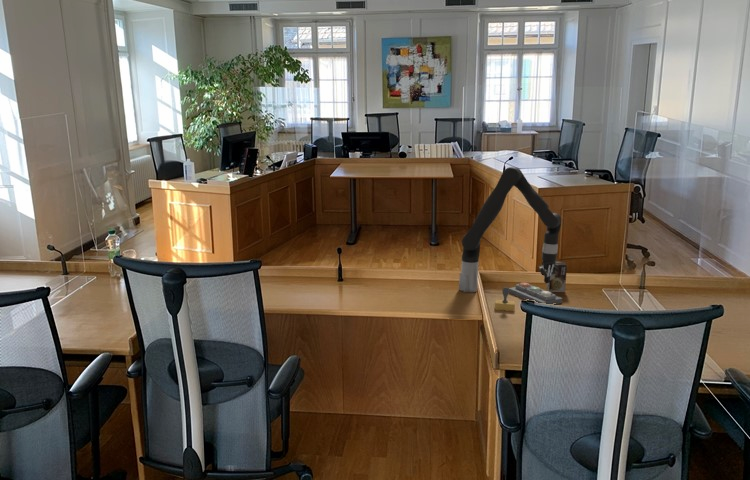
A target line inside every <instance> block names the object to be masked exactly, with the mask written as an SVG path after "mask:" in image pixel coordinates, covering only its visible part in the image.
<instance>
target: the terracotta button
mask: <svg viewBox="0 0 750 480" xmlns="http://www.w3.org/2000/svg"><path fill="white" fill-rule="evenodd" d="M519 284H520V286H521V287H524V288H526V287H529V286H530V285H531V284H530V283H528V282H520V283H519Z"/></svg>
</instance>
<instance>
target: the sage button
mask: <svg viewBox="0 0 750 480" xmlns="http://www.w3.org/2000/svg"><path fill="white" fill-rule="evenodd" d="M540 289H541V288H540V287H538V286H534V287H531V291H534V292H538V291H540Z"/></svg>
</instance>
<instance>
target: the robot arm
mask: <svg viewBox="0 0 750 480" xmlns="http://www.w3.org/2000/svg"><path fill="white" fill-rule="evenodd" d="M513 187H515V188H517V189H518V191H519V192H520V193H521V194H522V196H523V197H524V199H525V200H526V202H527V203H528V205H529V206H530V207H531V208H532V209H533V211H534V212H535V213H537V215H538V217H539V218H540V220H541V222H542V224H544V226H546V230H545V233H544V238H543V244H542V252H541V253H542V254H541V260H542V262H541V266H538V267H537V268H538V271H539V273H540V274H541V275H542V276H544V277H543V278H544V279H543V281H544V284H547V283H549V282H550V276H551V275H553V274H554V273H555V271H556V270H557V268H558V265H556V264H555V263H556V262H557V259H558V250H559V234H560V231H561V227H562V216H561V215H560V214H559V213H557V212H552V211H551V209H550V206H549V204H548V203H547V202H546V201H545V199H543V197H542V196H541V195H540V194H539V193H538V192H537V191H536V190H535V188H534V187H533V186H532V185H531V184H530V182H529V181H528V180H527V178H526V177H525V175H524V174H523V172H522V170H521V169H520V168H519V167H517V166H509V167H506V168H505V169H503V171H502V173H501V175H500V177H499V180H498V182H497V183H496V186H495V187H494V189H493V190H492V191H491V193H490V194H489V196H488V197H487V198H486V200H485V201H484V203H483V205H482V206H481V208H480V210H479V212H478V214H477V216H476V218H475V220H474V222H473V224H472V226H471V227H470V229H469V230H468V231H467V232H466V233H465V234H464V235H463V237H462V238H461V244H462V245H461V246H462V247H463V250H462V255H461V269H460V270H461V271H460V273H459V280H458V281H459V283H458V291H461V292H463V293H475V292H477V290H478V278H479V261H480V260H479V259H480V253H481V239H482V237H483V236H484V234H485V232H486V231H487V230H488V228H489V227H490V226H491V225H492V223H493V222H494V221H495V219H496V218H497V216H498V215H499V213H500V212H501V210H502V208H503V206H504V204H505V201H506V198H507V196H508V194H509V192H510V191H511V190H512V189H513Z"/></svg>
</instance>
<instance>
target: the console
mask: <svg viewBox="0 0 750 480" xmlns="http://www.w3.org/2000/svg"><path fill="white" fill-rule="evenodd" d="M531 287H535V286H534V285H532V284H530V286H529V287H526V288H524V287H521V286H520V283H517V284H515V286H513V287H508V288H509V294H511V295H513V296H516V297H518V298H521V299H523V300H525V299H529V300H535V301H536V302H538V303H546V304H553V303H556V304H555V305H558V304H562V303H563V298H562V297H561V296H557V294H554V293H553V292H551V296H547V297H546V296H544V295H541V292H542V291H546V290H544V289H542V288H540V291H538V292H534V291H531ZM524 298H525V299H524Z"/></svg>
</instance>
